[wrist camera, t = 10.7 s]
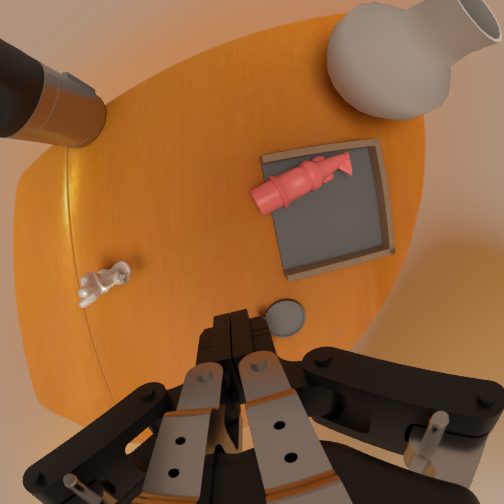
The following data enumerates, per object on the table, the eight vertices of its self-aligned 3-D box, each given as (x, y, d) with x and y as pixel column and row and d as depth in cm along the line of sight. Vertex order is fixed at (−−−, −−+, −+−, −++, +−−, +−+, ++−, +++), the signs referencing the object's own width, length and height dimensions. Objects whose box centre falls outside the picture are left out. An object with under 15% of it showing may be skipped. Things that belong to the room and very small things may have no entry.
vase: (320, 132, 38) (452, 73, 11) (298, 39, 34) (370, -78, 7) (408, 129, 39) (543, 108, 12) (385, 46, 35) (489, -20, 7)
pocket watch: (311, 313, 45) (331, 344, 35) (278, 348, 46) (289, 384, 36) (275, 285, 43) (288, 313, 34) (241, 323, 44) (244, 359, 35)
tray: (259, 157, 38) (262, 155, 35) (370, 140, 39) (379, 138, 36) (284, 275, 43) (288, 282, 40) (386, 248, 43) (395, 253, 40)
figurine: (90, 273, 40) (53, 302, 29) (127, 241, 40) (93, 262, 28) (107, 296, 41) (75, 331, 30) (145, 266, 41) (118, 296, 29)
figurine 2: (264, 220, 40) (350, 174, 39) (267, 222, 35) (364, 171, 34) (247, 188, 39) (335, 144, 39) (247, 186, 34) (347, 137, 34)
